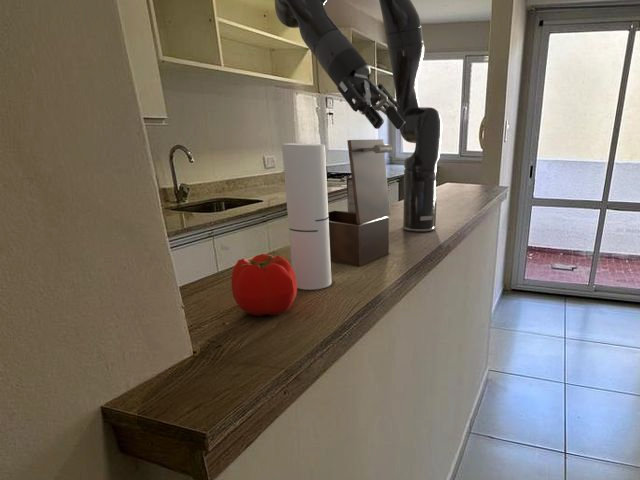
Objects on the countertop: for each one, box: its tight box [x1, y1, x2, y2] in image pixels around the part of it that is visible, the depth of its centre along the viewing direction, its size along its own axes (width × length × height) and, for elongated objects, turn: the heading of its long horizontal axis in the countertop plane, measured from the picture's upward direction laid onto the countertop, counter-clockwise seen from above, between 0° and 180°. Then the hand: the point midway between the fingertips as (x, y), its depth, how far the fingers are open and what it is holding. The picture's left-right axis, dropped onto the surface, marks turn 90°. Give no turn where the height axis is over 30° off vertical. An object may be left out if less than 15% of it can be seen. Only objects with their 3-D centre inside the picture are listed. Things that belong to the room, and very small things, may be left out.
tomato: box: [230, 253, 298, 317], centre depth 71 cm, size 11×11×9 cm
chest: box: [328, 209, 390, 267], centre depth 104 cm, size 16×13×9 cm
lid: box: [347, 139, 393, 224], centre depth 95 cm, size 16×13×5 cm
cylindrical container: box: [281, 142, 333, 291], centre depth 81 cm, size 7×7×25 cm
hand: (391, 126), depth 89 cm, fingers open, 8 cm apart
